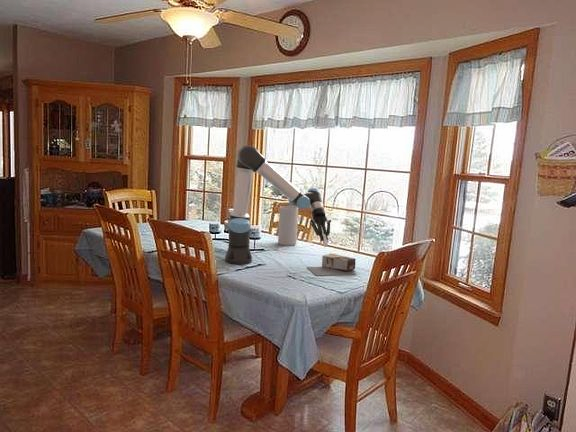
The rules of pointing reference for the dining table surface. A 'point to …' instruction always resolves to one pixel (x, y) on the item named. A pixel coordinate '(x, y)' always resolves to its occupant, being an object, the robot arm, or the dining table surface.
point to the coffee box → (338, 262)
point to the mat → (328, 271)
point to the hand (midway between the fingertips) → (325, 245)
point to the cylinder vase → (288, 225)
